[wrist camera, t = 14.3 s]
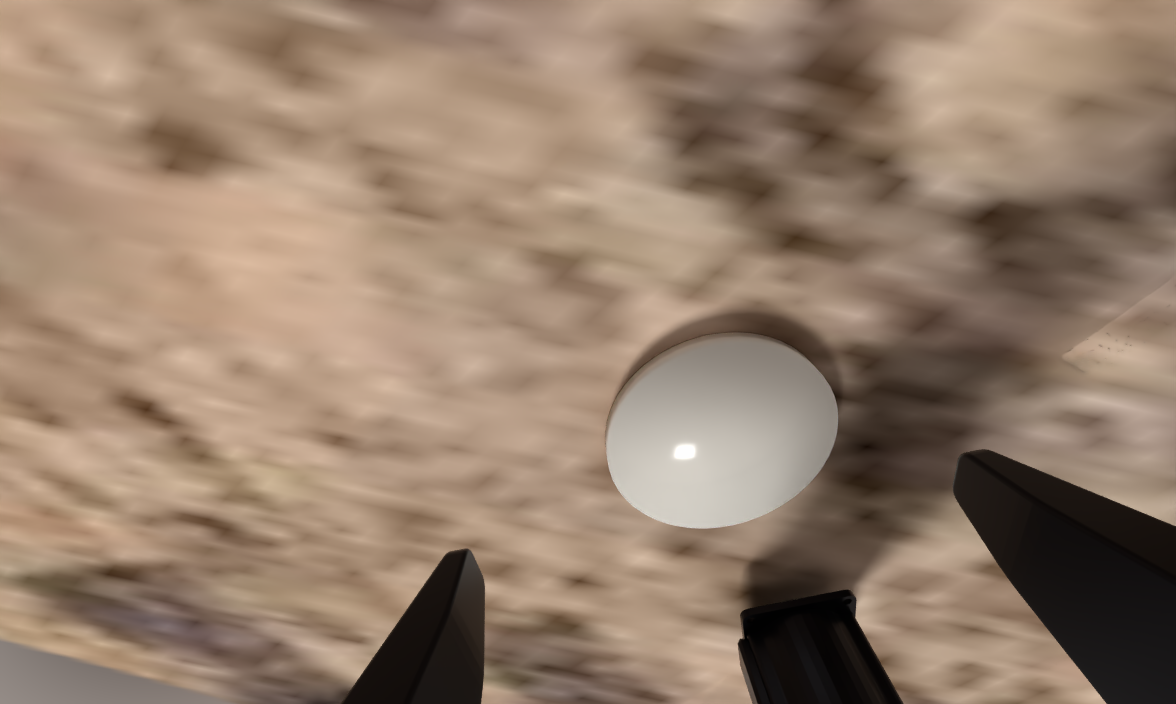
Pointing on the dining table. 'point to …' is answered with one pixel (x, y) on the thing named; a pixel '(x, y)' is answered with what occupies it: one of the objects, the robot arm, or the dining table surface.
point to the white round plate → (720, 430)
